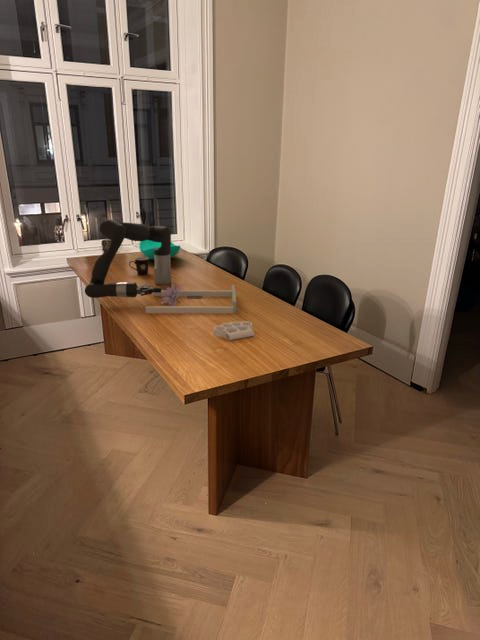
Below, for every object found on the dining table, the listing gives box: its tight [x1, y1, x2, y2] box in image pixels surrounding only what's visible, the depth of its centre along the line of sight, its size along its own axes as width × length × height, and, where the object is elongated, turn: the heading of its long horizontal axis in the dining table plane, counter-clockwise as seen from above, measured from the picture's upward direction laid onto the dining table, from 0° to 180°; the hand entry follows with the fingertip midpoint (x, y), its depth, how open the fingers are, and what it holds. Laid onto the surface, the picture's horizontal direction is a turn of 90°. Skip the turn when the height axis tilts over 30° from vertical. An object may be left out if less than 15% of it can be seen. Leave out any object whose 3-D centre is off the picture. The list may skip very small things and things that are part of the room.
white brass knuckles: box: [213, 320, 255, 342], centre depth 187 cm, size 3×18×15 cm
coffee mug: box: [128, 256, 150, 276], centre depth 275 cm, size 12×9×10 cm
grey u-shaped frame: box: [145, 284, 237, 314], centre depth 222 cm, size 44×28×6 cm, turn 93°
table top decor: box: [139, 240, 182, 261], centre depth 311 cm, size 40×28×13 cm
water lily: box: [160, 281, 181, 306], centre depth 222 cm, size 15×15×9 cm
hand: (161, 290), depth 219 cm, fingers closed
